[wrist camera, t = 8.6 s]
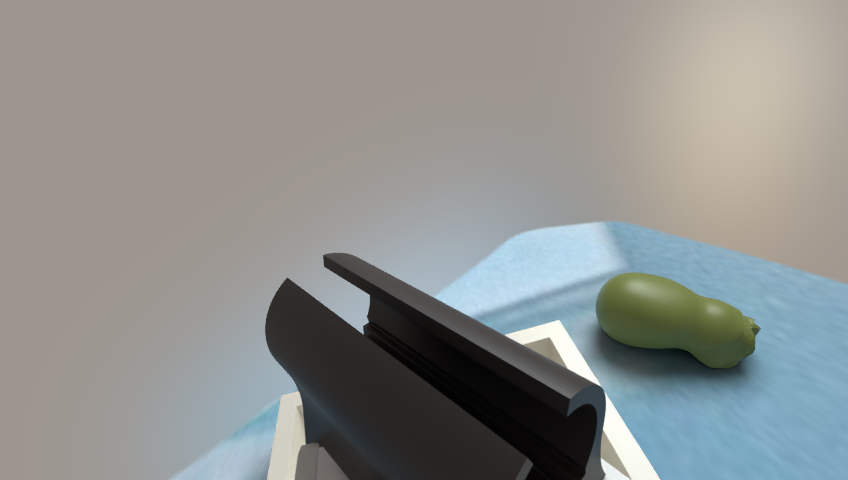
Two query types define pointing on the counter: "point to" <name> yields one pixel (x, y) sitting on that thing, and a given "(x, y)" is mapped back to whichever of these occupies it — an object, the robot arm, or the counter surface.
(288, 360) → the phone stand
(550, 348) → the tray
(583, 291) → the counter surface
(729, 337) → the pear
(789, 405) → the counter surface
